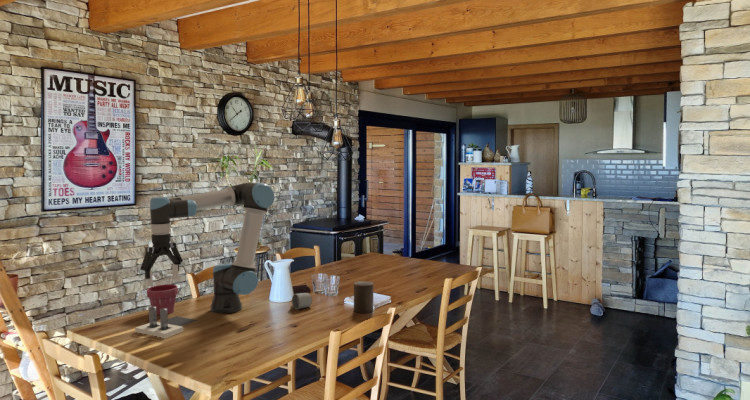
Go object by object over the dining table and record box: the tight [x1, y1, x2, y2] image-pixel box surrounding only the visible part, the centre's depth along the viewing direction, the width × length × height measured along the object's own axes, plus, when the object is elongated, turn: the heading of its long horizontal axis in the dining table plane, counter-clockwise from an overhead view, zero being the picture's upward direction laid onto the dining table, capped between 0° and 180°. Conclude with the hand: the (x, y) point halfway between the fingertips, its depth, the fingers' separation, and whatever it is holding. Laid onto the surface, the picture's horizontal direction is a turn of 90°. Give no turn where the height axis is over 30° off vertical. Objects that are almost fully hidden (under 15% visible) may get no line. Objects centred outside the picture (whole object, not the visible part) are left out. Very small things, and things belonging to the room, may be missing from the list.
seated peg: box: [148, 305, 158, 328], centre depth 231 cm, size 3×3×11 cm
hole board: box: [134, 321, 184, 340], centre depth 229 cm, size 10×18×2 cm, turn 63°
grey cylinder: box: [291, 292, 313, 310], centre depth 268 cm, size 11×8×8 cm
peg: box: [159, 308, 169, 331], centre depth 227 cm, size 3×3×11 cm
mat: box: [168, 316, 198, 327], centre depth 243 cm, size 14×14×1 cm
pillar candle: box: [353, 280, 374, 314], centre depth 260 cm, size 10×10×15 cm
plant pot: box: [146, 283, 179, 316], centre depth 259 cm, size 14×14×13 cm
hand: (163, 282), depth 226 cm, fingers open, 13 cm apart
